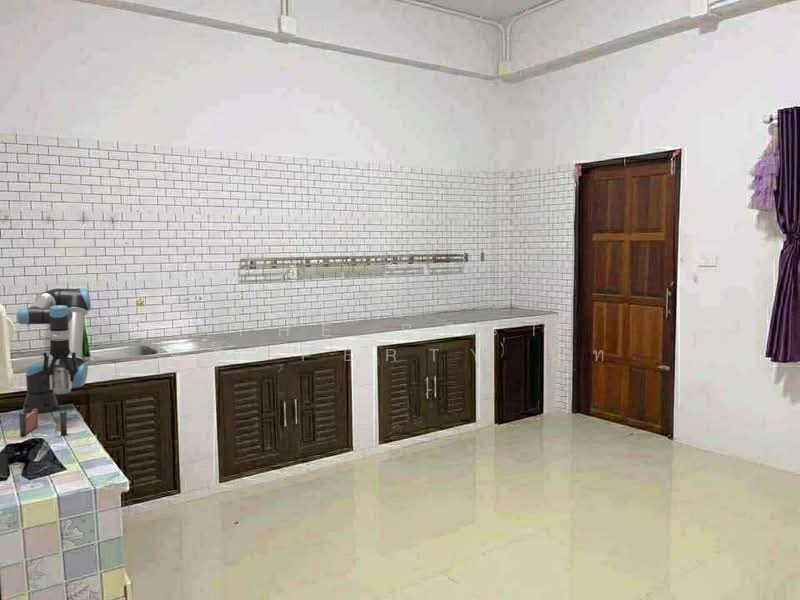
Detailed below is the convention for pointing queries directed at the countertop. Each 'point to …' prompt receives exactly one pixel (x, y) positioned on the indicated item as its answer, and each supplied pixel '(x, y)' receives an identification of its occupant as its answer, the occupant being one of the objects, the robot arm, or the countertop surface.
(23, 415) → the hinge post
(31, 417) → the gate
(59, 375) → the mug
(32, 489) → the countertop surface
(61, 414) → the latch post
